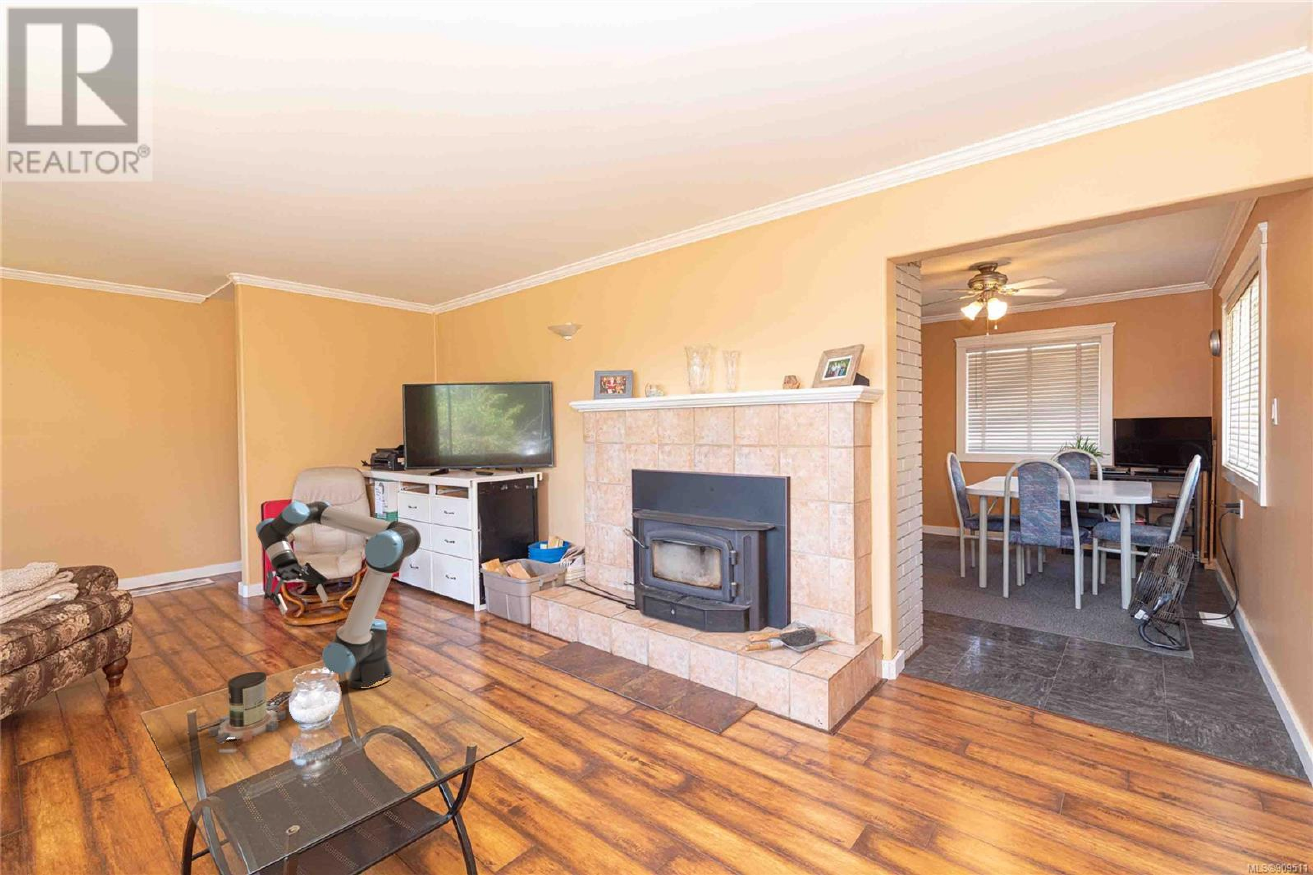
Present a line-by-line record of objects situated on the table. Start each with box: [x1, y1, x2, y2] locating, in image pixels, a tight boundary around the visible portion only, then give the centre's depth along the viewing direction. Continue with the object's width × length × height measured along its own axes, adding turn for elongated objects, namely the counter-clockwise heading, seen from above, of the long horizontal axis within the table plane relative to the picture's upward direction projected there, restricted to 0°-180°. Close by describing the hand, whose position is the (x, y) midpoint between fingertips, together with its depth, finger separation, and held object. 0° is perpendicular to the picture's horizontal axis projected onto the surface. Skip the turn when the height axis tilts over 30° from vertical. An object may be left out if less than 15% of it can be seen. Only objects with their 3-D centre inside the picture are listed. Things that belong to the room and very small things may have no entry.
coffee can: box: [227, 671, 268, 729], centre depth 193 cm, size 10×10×14 cm
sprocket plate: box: [208, 704, 287, 744], centre depth 193 cm, size 20×20×2 cm
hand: (306, 606), depth 203 cm, fingers open, 13 cm apart
